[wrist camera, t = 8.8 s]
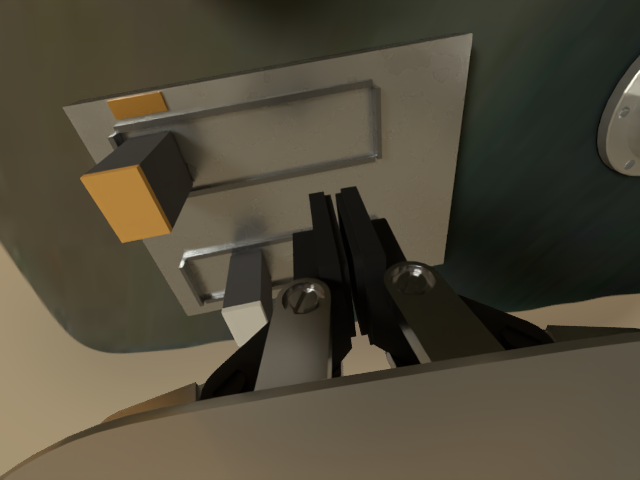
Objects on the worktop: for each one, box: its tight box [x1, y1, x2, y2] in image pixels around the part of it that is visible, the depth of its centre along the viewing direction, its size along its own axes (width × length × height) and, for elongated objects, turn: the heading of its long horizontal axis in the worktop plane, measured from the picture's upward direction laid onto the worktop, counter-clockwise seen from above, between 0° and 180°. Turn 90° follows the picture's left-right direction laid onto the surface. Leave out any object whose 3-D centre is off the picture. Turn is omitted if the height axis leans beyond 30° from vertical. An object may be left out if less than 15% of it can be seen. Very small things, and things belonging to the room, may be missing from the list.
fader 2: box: [222, 250, 273, 347], centre depth 23 cm, size 2×4×6 cm
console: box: [63, 33, 473, 316], centre depth 23 cm, size 24×18×3 cm
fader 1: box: [80, 131, 193, 243], centre depth 17 cm, size 2×4×6 cm
